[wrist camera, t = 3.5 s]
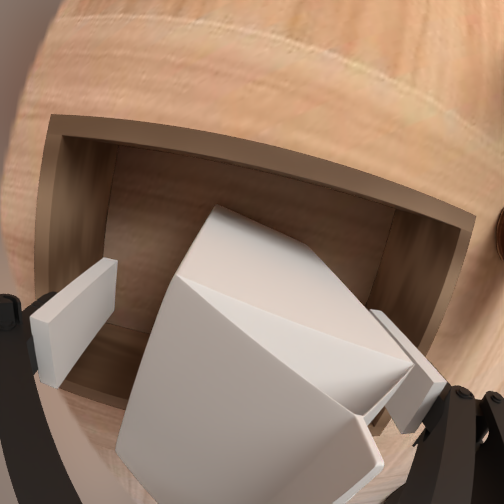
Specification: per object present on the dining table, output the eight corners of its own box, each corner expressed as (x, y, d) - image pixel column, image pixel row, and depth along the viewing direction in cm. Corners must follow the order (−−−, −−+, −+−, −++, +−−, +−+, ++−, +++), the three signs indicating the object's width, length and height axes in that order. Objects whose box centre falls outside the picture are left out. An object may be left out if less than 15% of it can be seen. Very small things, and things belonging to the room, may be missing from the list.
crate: (348, 374, 25) (379, 435, 18) (89, 328, 23) (46, 382, 15) (409, 199, 21) (476, 216, 14) (109, 130, 19) (51, 114, 11)
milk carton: (178, 291, 22) (84, 543, 4) (215, 202, 21) (104, 399, 3) (264, 325, 23) (313, 577, 5) (307, 244, 22) (491, 456, 4)
